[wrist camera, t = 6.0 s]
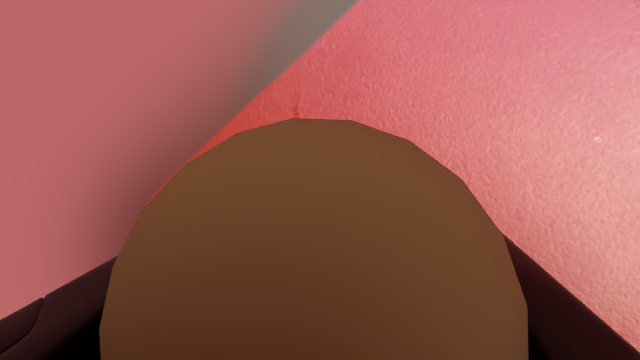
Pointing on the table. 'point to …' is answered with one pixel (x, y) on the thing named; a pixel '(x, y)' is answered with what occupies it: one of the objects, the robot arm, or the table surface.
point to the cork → (314, 257)
